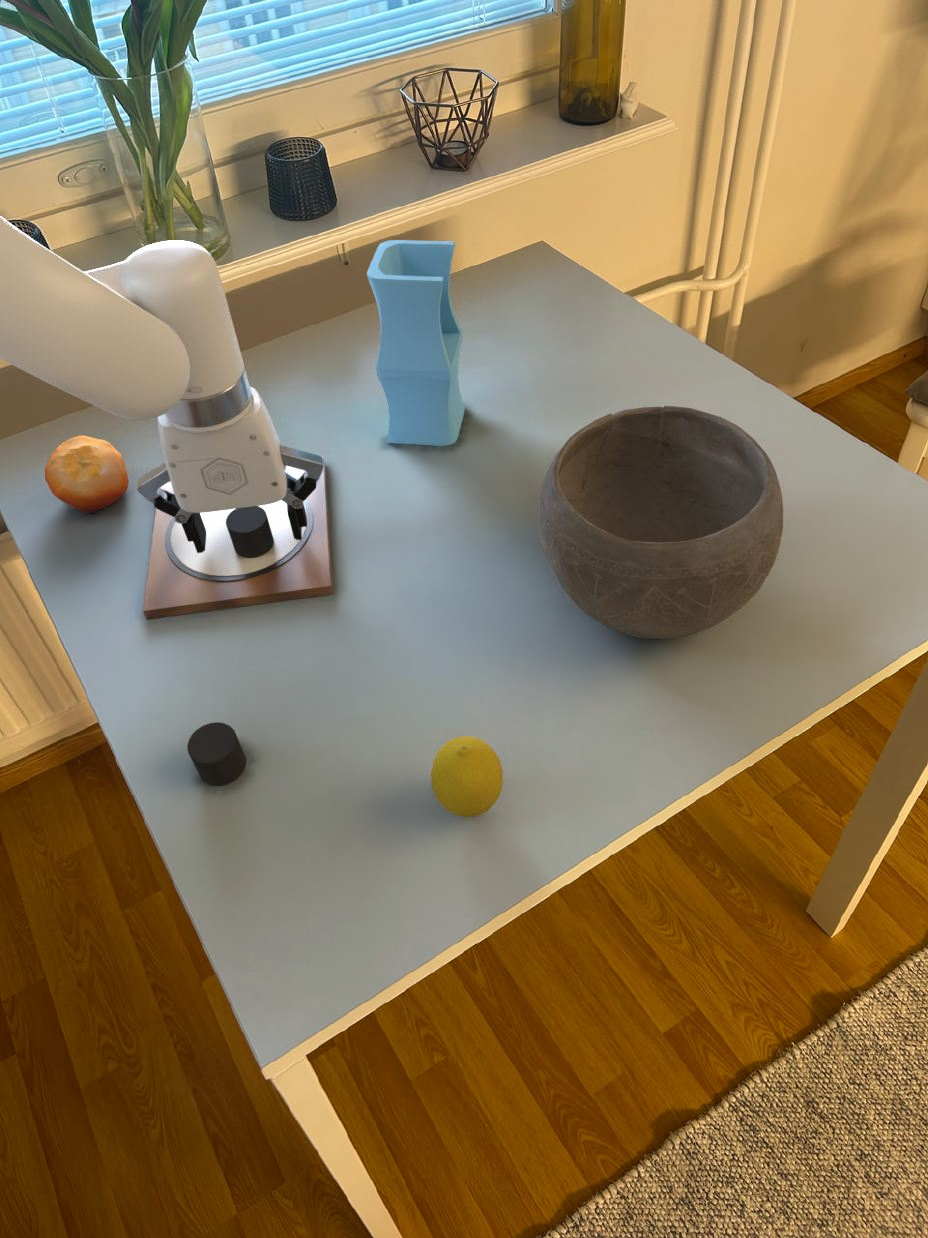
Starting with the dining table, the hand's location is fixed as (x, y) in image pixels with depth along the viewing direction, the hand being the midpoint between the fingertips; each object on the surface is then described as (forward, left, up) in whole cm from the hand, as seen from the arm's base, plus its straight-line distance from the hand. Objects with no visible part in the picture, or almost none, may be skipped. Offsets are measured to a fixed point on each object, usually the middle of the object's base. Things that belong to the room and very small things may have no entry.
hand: (250, 536), depth 93 cm
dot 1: (-2, -25, -3) cm, 25 cm away
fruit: (-17, +12, -3) cm, 21 cm away
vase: (+20, +18, -3) cm, 27 cm away
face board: (-1, +3, -2) cm, 4 cm away
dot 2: (0, 0, -1) cm, 1 cm away
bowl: (+38, -12, -3) cm, 39 cm away
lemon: (+18, -32, -3) cm, 37 cm away
